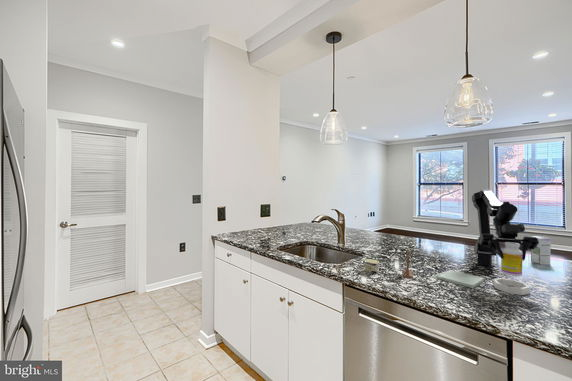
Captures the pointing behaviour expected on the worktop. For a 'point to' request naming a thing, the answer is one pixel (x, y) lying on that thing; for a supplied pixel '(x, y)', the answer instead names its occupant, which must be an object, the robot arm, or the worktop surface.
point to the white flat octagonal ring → (518, 286)
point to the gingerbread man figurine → (406, 272)
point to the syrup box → (541, 251)
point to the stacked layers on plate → (371, 265)
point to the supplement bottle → (511, 259)
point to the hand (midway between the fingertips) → (513, 259)
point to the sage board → (461, 278)
